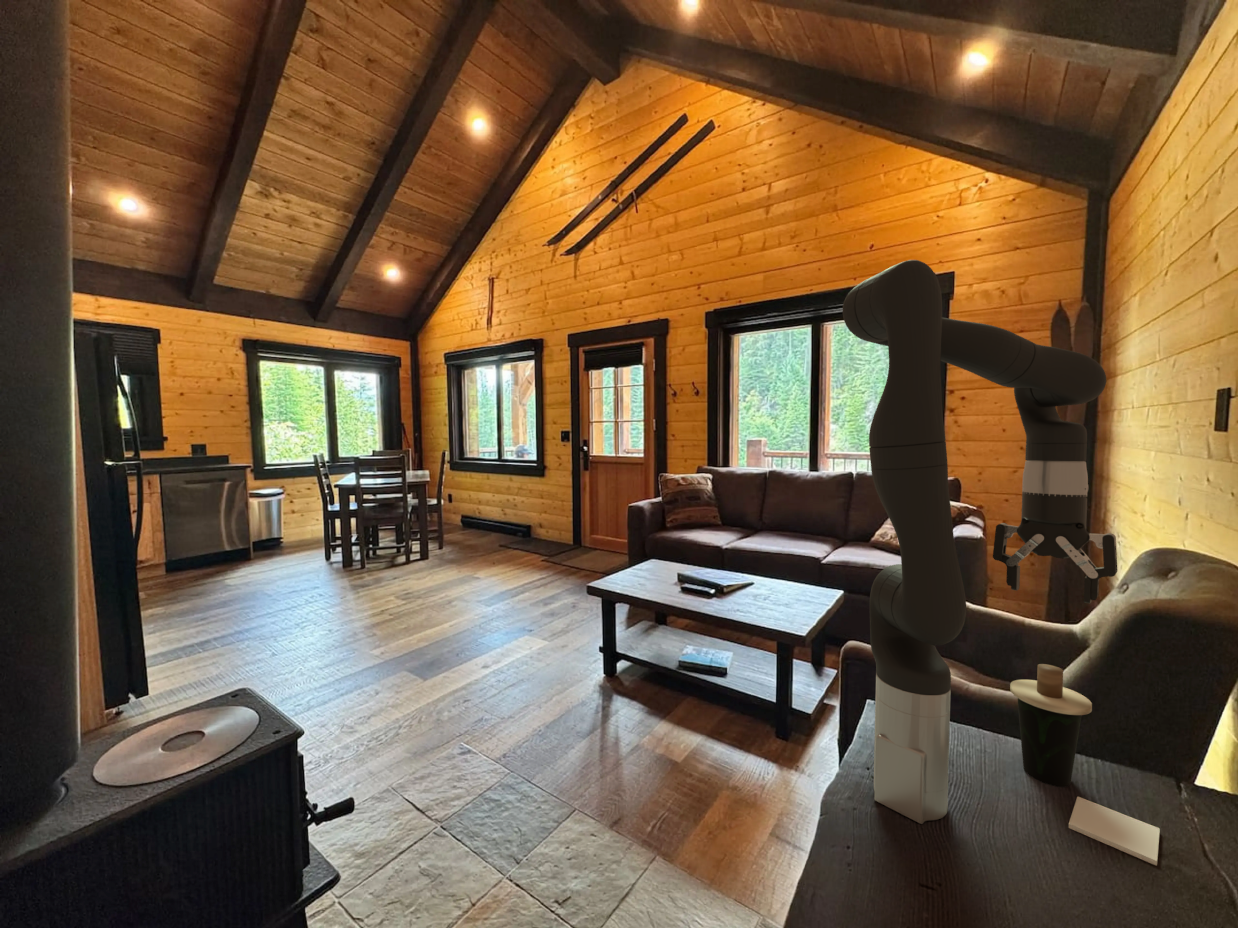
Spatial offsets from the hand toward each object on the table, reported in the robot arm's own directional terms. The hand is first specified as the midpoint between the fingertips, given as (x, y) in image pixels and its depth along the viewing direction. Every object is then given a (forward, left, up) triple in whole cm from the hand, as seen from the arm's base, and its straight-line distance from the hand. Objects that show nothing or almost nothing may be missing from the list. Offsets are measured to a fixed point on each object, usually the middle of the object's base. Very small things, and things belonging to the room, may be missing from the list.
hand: (1050, 595), depth 77 cm
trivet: (-8, -8, -28) cm, 30 cm away
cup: (0, 0, -28) cm, 28 cm away
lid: (0, 0, -16) cm, 16 cm away
